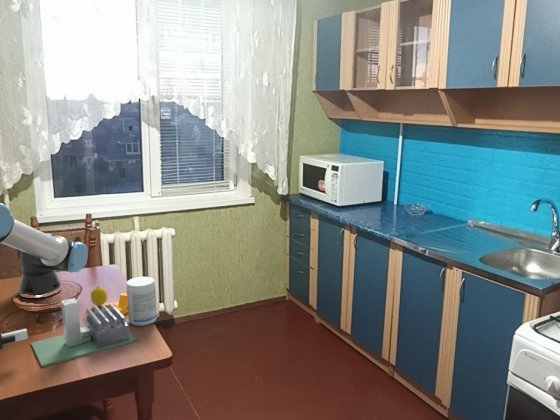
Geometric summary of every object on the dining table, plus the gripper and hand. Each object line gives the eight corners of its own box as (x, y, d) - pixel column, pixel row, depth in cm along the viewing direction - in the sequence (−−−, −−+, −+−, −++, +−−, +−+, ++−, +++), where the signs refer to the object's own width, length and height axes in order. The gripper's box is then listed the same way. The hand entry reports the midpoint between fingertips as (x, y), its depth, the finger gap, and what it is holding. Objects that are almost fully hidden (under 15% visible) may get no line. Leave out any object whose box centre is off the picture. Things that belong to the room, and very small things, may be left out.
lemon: (107, 302, 185) (106, 282, 183) (107, 308, 180) (106, 288, 178) (91, 304, 184) (90, 284, 182) (91, 310, 178) (89, 289, 177)
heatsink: (75, 333, 160) (73, 310, 158) (115, 323, 168) (113, 301, 166) (87, 351, 149) (85, 327, 147) (129, 339, 157) (128, 316, 155)
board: (31, 344, 153) (31, 342, 153) (120, 322, 170) (120, 320, 170) (41, 367, 141) (41, 365, 141) (136, 340, 157) (136, 339, 157)
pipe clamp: (118, 309, 180) (118, 292, 179) (129, 310, 179) (129, 293, 178) (100, 322, 168) (99, 304, 167) (112, 323, 167) (111, 305, 166)
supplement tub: (162, 318, 173) (161, 279, 170) (143, 329, 165) (141, 288, 162) (142, 312, 178) (140, 274, 174) (122, 322, 170) (120, 282, 166)
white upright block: (64, 342, 154) (60, 300, 150) (87, 336, 158) (84, 295, 154) (67, 347, 150) (64, 305, 147) (91, 341, 154) (88, 300, 151)
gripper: (-70, 359, 137) (24, 336, 150) (-68, 380, 126) (32, 354, 140) (-74, 334, 135) (21, 314, 149) (-72, 354, 125) (30, 330, 138)
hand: (26, 333), depth 144 cm, fingers closed
